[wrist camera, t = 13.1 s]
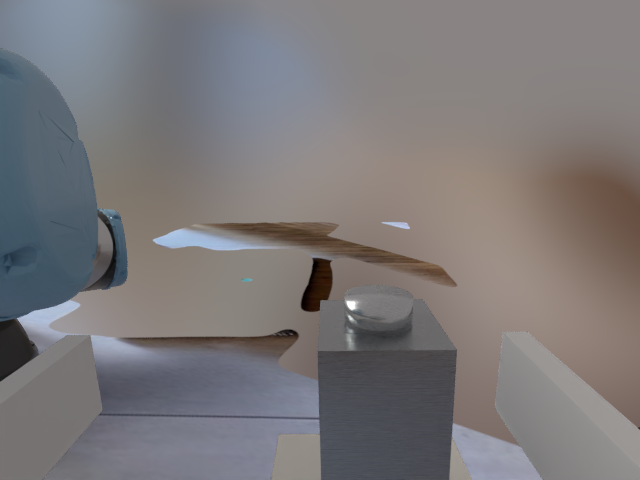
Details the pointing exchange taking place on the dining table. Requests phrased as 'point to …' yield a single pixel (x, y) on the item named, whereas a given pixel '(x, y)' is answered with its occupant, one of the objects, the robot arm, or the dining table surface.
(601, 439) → the robot arm
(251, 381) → the dining table surface
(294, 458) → the plinth
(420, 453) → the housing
